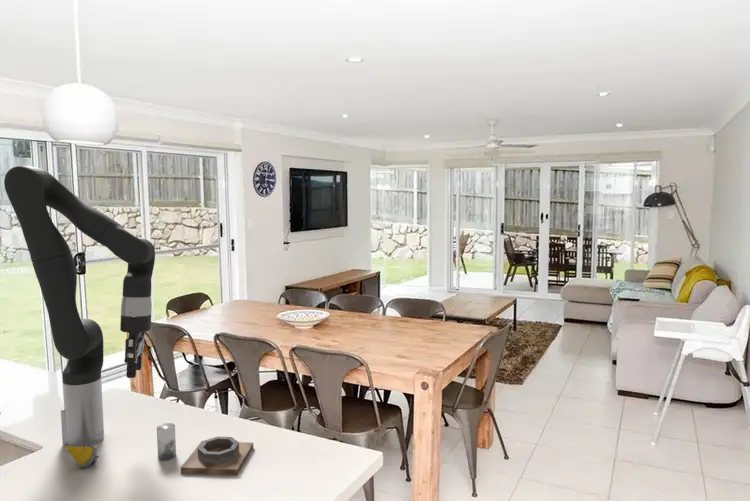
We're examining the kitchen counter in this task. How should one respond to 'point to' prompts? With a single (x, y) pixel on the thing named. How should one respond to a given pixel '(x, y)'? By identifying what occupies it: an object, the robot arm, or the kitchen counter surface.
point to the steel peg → (166, 441)
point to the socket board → (218, 457)
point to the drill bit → (83, 455)
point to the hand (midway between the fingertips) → (134, 373)
